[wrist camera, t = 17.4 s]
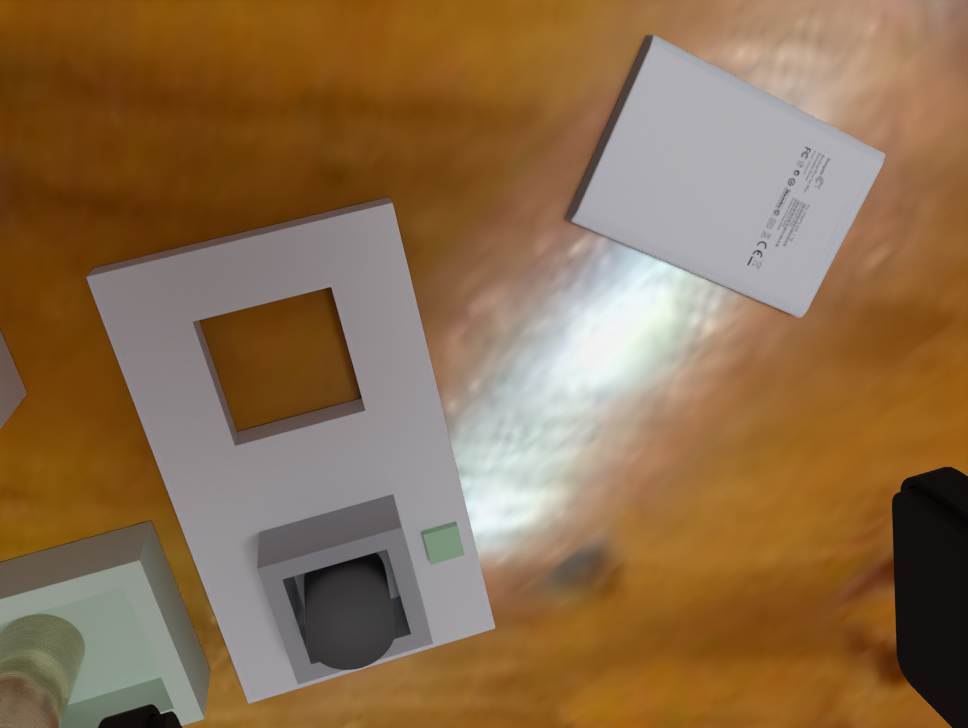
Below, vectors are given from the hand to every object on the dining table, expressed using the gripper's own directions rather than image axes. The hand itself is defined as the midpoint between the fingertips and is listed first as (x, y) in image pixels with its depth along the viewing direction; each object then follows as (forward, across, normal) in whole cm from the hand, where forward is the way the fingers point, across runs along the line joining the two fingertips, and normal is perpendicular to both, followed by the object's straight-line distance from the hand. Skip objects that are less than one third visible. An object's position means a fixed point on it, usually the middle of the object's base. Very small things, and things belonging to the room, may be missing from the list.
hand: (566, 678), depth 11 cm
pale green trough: (+28, +18, +14) cm, 36 cm away
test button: (+26, +5, +14) cm, 30 cm away
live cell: (+27, +18, +14) cm, 36 cm away
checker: (+28, +5, +9) cm, 30 cm away
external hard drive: (+29, -16, +2) cm, 33 cm away
